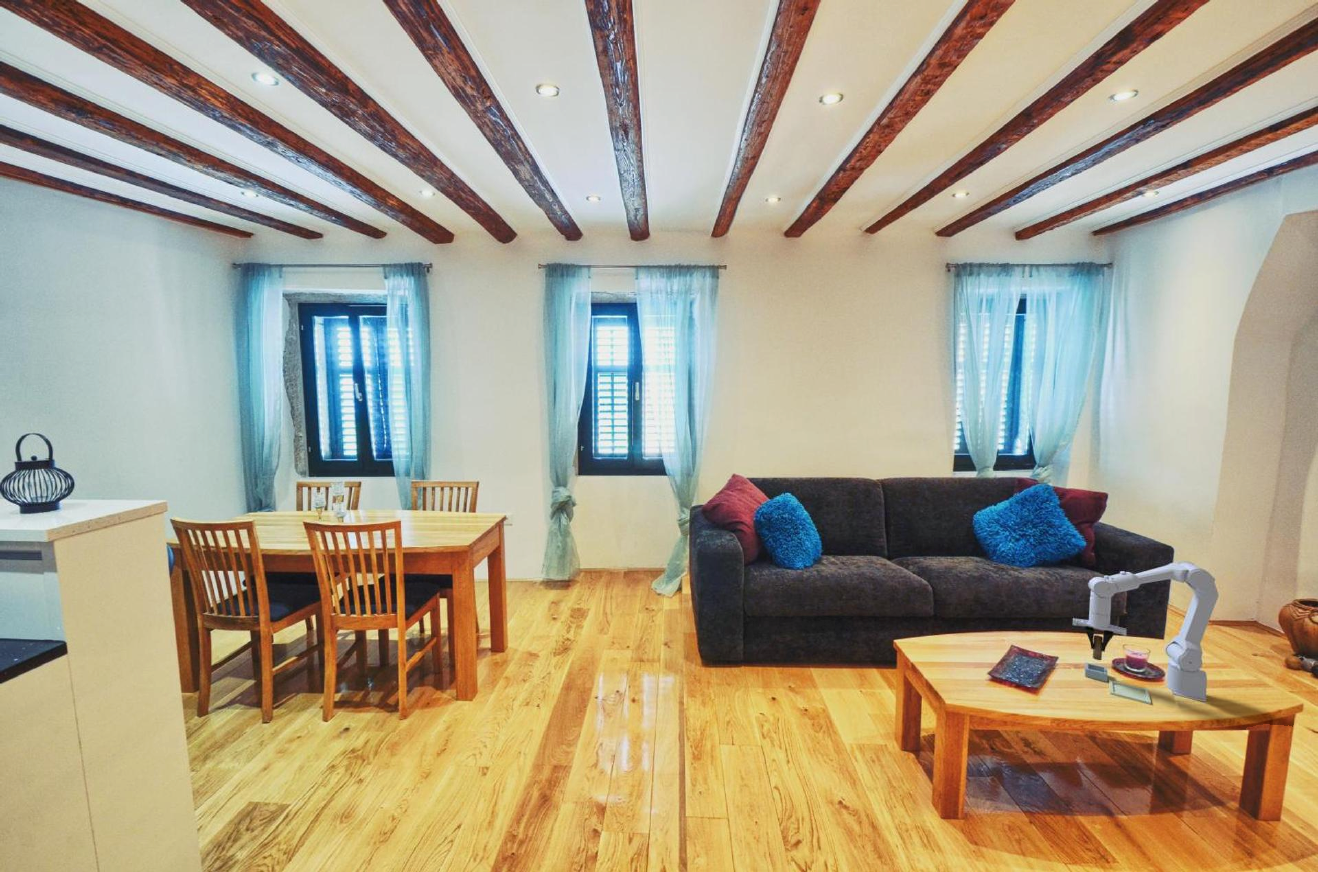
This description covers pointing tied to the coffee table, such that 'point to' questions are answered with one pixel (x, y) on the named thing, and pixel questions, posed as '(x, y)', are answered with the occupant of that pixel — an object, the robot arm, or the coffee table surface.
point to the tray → (1129, 692)
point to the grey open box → (1096, 672)
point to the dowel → (1097, 647)
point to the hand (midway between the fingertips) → (1097, 649)
